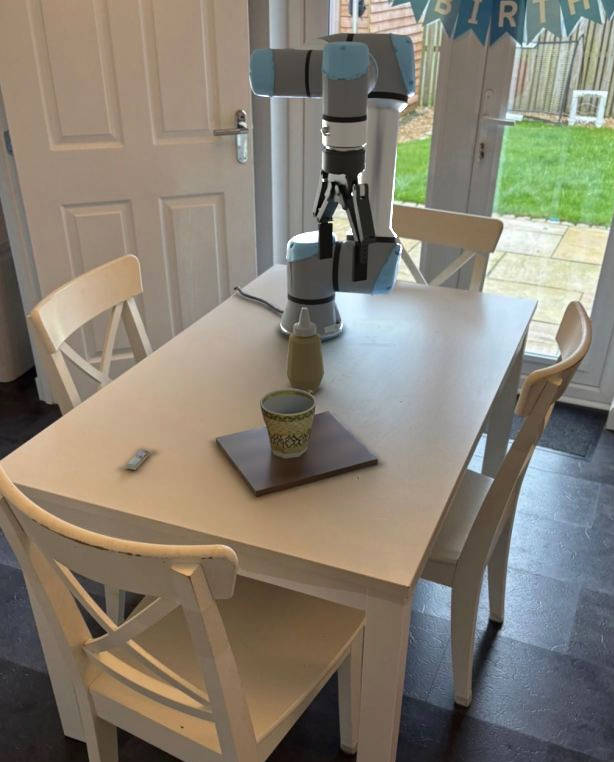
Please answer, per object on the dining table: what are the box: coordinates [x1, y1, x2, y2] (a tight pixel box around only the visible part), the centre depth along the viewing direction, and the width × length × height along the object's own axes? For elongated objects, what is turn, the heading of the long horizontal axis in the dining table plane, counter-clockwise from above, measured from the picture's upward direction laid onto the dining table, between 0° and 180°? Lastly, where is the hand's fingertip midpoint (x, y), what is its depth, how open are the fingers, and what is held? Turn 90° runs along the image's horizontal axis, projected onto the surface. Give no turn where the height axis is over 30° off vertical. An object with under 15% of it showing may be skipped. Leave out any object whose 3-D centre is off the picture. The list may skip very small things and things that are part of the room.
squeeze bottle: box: [285, 307, 325, 394], centre depth 163 cm, size 8×8×18 cm
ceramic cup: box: [259, 388, 317, 458], centre depth 143 cm, size 13×10×10 cm
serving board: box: [215, 410, 379, 498], centre depth 146 cm, size 20×24×1 cm
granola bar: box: [123, 449, 153, 471], centre depth 143 cm, size 7×2×1 cm, turn 162°
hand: (341, 269), depth 145 cm, fingers open, 13 cm apart
